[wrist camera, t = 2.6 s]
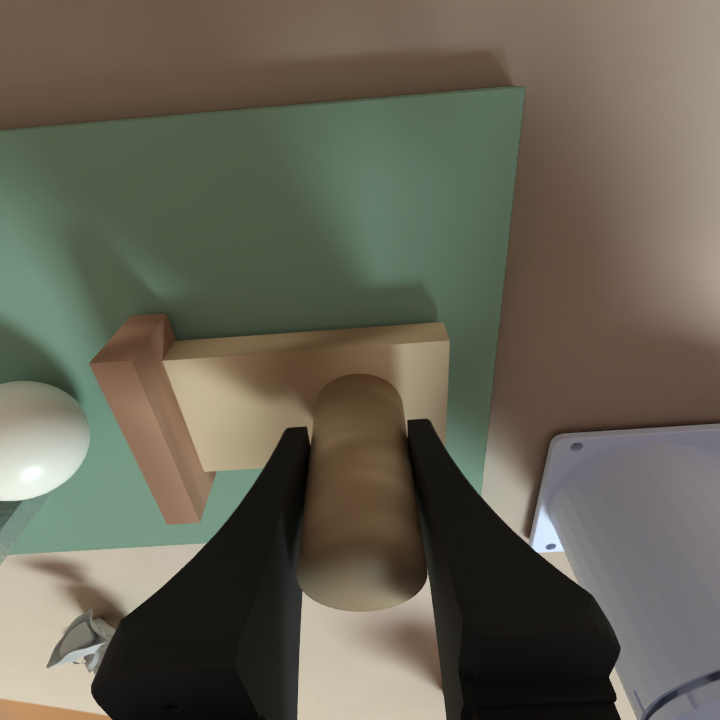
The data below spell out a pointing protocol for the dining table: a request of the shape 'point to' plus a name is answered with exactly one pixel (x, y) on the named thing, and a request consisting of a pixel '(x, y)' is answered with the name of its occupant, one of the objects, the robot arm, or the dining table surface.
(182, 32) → the dining table surface
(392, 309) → the pitch
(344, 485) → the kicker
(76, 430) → the ball
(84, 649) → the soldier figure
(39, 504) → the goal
